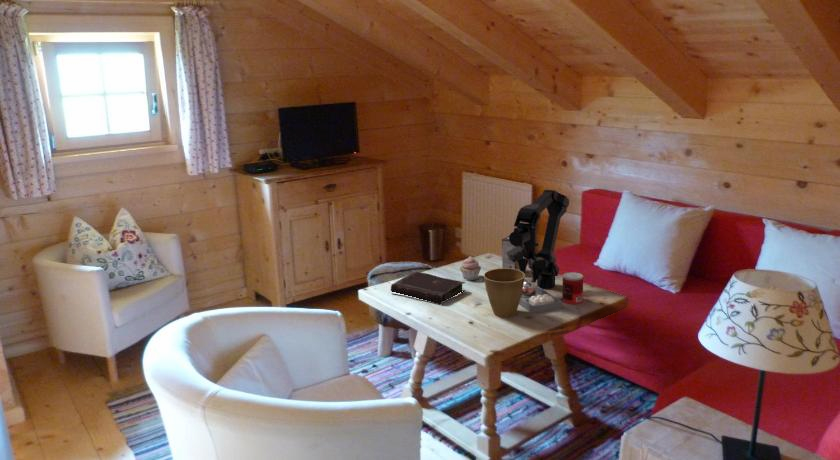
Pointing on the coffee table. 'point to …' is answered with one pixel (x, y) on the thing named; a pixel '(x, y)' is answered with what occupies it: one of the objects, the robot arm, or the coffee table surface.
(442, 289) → the diary
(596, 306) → the coffee table surface
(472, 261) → the cupcake
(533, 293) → the steel tin
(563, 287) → the canned food
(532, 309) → the tote
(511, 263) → the coffee box
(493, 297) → the plant pot
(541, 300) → the egg carton
